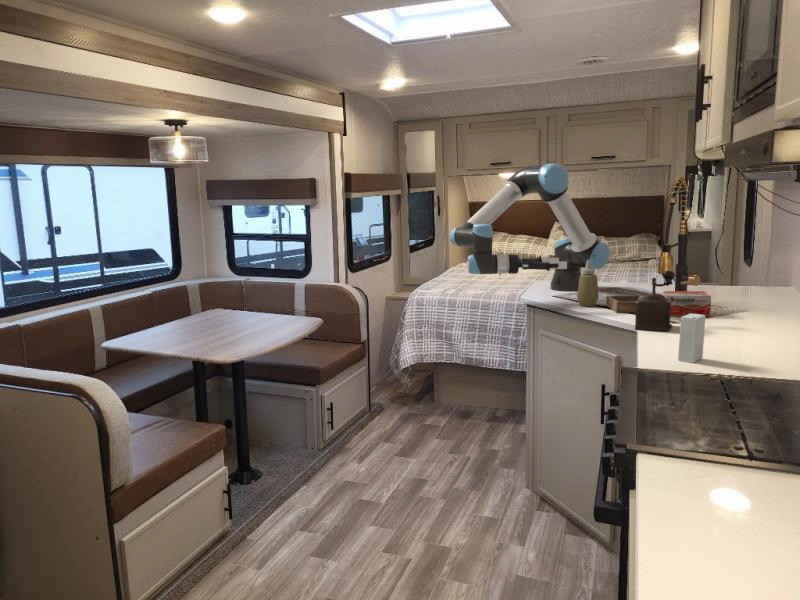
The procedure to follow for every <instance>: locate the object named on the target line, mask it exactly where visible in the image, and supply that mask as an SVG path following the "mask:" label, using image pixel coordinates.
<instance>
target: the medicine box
mask: <svg viewBox="0 0 800 600" xmlns="http://www.w3.org/2000/svg"><path fill="white" fill-rule="evenodd" d="M661 295H663V296H664V295H665V297H666V298H671V317H678V318H679V317H683V316H685V315H688V314H701V315H705V318H710V315H711V309H712V296H711V294H709V293H708V292H707V291H705V290H702V291H699V290H698V291H697V290H694V291H693V290H692V291H691V290H689V291H687V290H686V291H685V290H684V291H683V290H681V291H680V290H676V291H675V290H674V291H673V290H670V291H669V290H668V291H667V290H664V291H663V290H662V293H661Z"/></svg>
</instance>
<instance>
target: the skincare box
mask: <svg viewBox="0 0 800 600" xmlns="http://www.w3.org/2000/svg"><path fill="white" fill-rule="evenodd" d="M705 328H706V317H705V315H701V314H688V315H685V316H683V317H681V318H680V328H679V339H678V340H679V341H678V343H679V344H678V356H677V360H678V361H681V362H684V363H685V362H686V363H692V364H693V363H696V362H698V361H699V360H701V359H703V356H704V355H703V354H704V343H705V342H704V341H705Z"/></svg>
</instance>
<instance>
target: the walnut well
mask: <svg viewBox="0 0 800 600" xmlns="http://www.w3.org/2000/svg"><path fill="white" fill-rule="evenodd" d="M639 297H644V295H638V294H637V295H635V294H634V295H606V300H605V301H606V305H607V306H609V307H610V308H611V309H612V310H611V309H610V308H609V309H610V310H611V311H613V312H615V313H616V314H628V313H629V314H631V313H630V312H634V313H636V301H637V300H638V298H639ZM606 305H605V306H606ZM607 306H606V307H607Z"/></svg>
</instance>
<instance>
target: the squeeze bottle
mask: <svg viewBox="0 0 800 600" xmlns="http://www.w3.org/2000/svg"><path fill="white" fill-rule="evenodd" d="M581 274H582V275H580V278H579V286H578V290H577V295H576V296H577V299H578V303H579V306H580V307H585V306H586V307H587V308H589V306H592V307H596V305H597V302H598V300H599V297H600V296H599V284H598V275H596V269H592V266H591V261H590V260H587V263H586V267H585V268H581Z"/></svg>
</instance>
